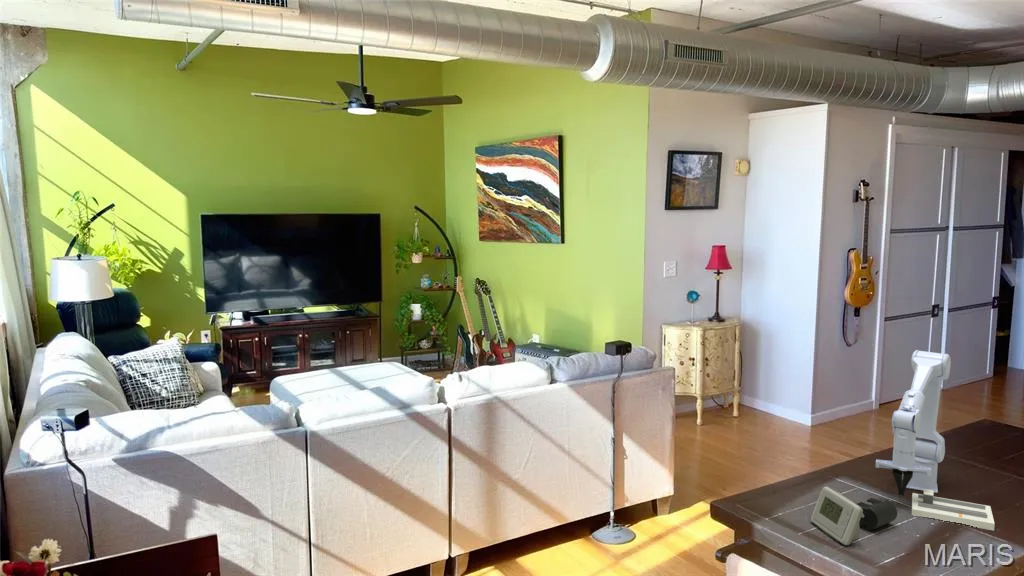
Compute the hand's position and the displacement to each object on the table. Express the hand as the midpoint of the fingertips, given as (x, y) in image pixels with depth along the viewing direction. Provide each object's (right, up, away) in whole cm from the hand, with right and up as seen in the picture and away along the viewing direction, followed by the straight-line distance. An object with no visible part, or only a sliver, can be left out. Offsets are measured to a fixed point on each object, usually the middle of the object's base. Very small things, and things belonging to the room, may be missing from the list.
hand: (901, 494), depth 216 cm
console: (+11, -4, -6) cm, 13 cm away
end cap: (-15, -5, -14) cm, 21 cm away
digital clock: (-28, -6, -19) cm, 35 cm away
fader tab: (+6, -2, -3) cm, 7 cm away
